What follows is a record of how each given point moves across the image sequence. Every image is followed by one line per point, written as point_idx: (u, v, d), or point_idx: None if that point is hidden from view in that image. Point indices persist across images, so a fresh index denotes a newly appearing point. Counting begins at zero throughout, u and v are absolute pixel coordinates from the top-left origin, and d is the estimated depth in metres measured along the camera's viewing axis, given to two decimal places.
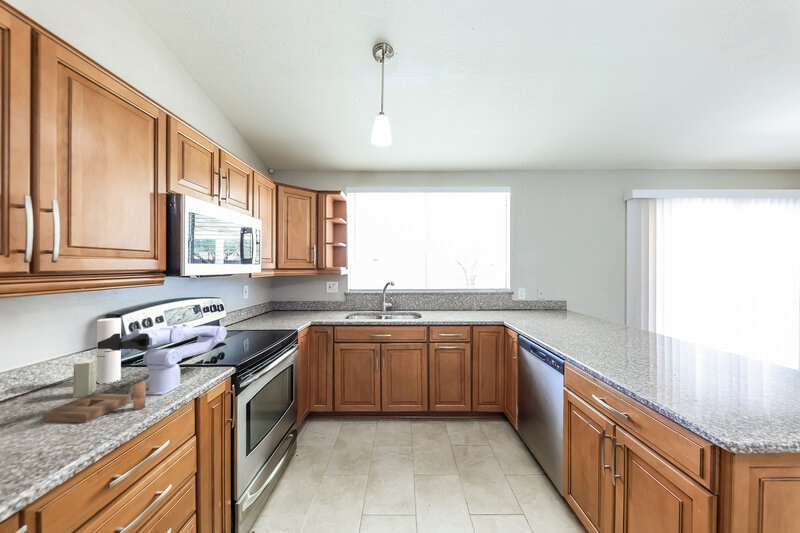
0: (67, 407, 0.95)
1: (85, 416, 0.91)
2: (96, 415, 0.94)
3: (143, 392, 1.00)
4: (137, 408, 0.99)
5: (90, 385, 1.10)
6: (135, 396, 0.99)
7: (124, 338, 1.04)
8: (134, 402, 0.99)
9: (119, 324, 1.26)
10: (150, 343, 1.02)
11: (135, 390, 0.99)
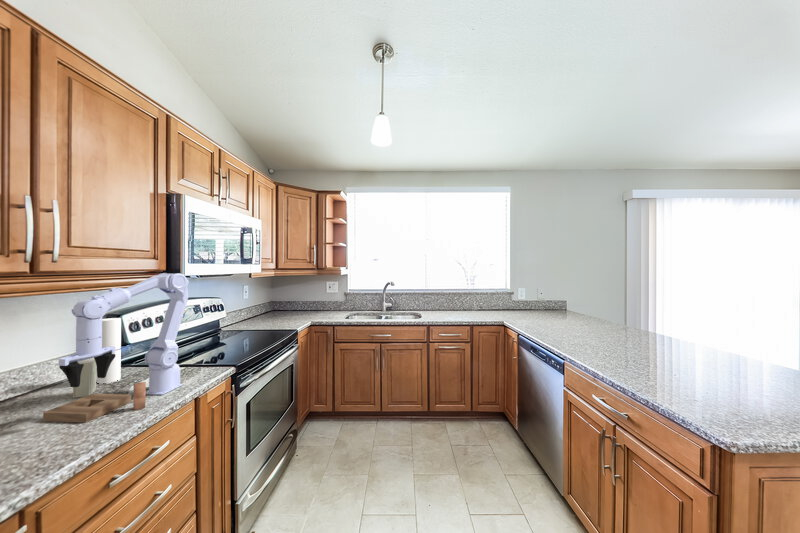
0: (67, 407, 0.95)
1: (85, 416, 0.91)
2: (96, 415, 0.94)
3: (143, 392, 1.00)
4: (137, 408, 0.99)
5: (90, 385, 1.10)
6: (135, 396, 0.99)
7: None
8: (134, 402, 0.99)
9: (119, 324, 1.26)
10: None
11: (135, 390, 0.99)
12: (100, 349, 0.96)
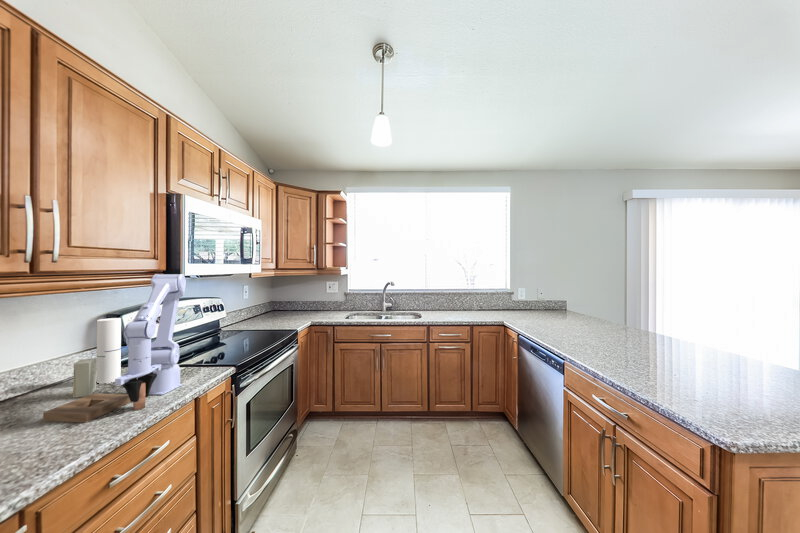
0: (67, 407, 0.95)
1: (85, 416, 0.91)
2: (96, 415, 0.94)
3: (143, 392, 1.00)
4: (137, 408, 0.99)
5: (90, 385, 1.10)
6: None
7: None
8: (134, 402, 0.99)
9: (119, 324, 1.26)
10: None
11: None
12: (150, 368, 1.01)
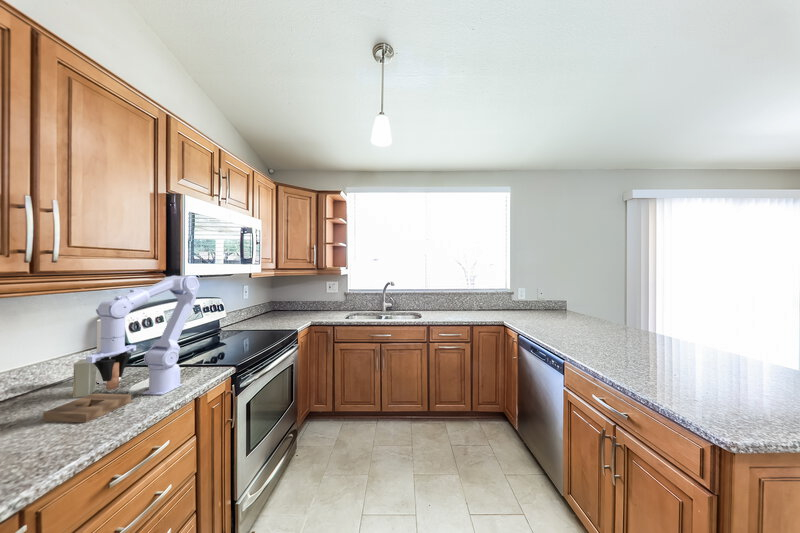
0: (67, 407, 0.95)
1: (85, 416, 0.91)
2: (96, 415, 0.94)
3: (116, 372, 0.99)
4: (110, 388, 0.98)
5: (90, 385, 1.10)
6: None
7: None
8: (107, 381, 0.98)
9: None
10: None
11: None
12: (123, 347, 1.00)
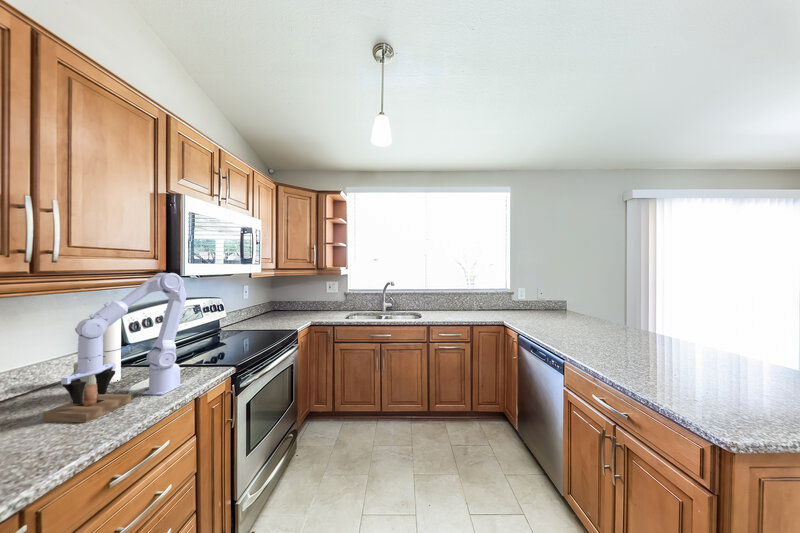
0: (67, 407, 0.95)
1: (85, 416, 0.91)
2: (96, 415, 0.94)
3: (94, 394, 0.98)
4: None
5: None
6: (85, 399, 0.97)
7: None
8: (84, 405, 0.97)
9: (119, 324, 1.26)
10: None
11: (85, 392, 0.97)
12: (101, 366, 0.99)
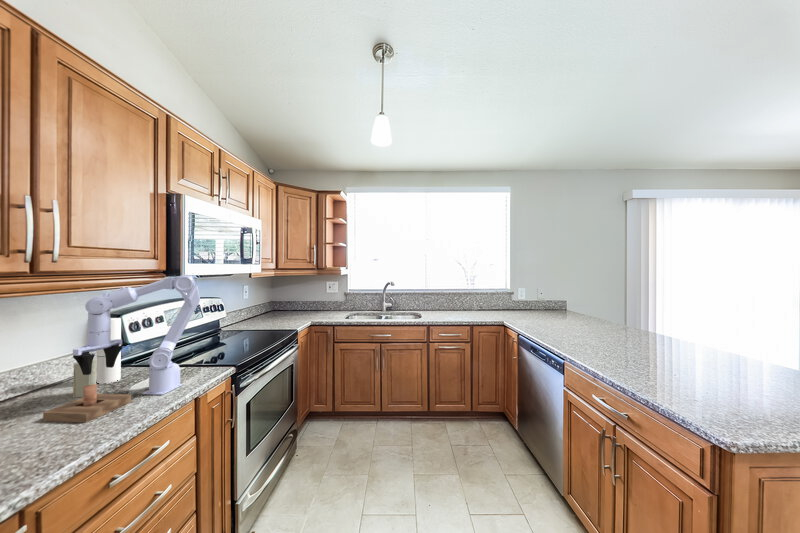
0: (67, 407, 0.95)
1: (85, 416, 0.91)
2: (96, 415, 0.94)
3: (94, 394, 0.98)
4: None
5: None
6: (85, 399, 0.97)
7: None
8: (84, 405, 0.97)
9: (119, 324, 1.26)
10: None
11: (85, 392, 0.97)
12: (109, 341, 1.07)
